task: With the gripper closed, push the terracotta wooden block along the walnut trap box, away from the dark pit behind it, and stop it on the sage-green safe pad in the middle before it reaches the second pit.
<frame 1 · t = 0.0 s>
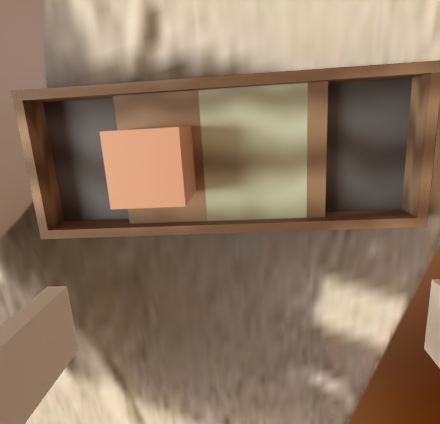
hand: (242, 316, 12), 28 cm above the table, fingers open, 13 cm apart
block: (161, 160, 37), point 2 cm above the table, touching trap box
trap box: (223, 155, 39), on the table
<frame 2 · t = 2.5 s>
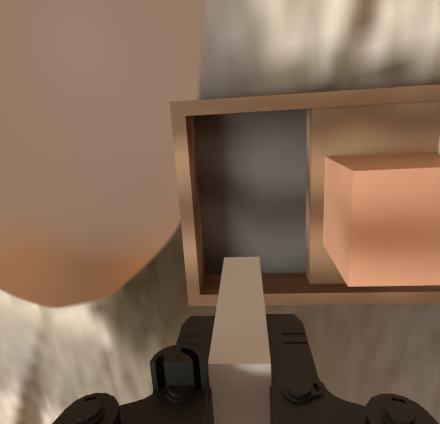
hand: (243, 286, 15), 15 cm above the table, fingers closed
block: (370, 200, 26), point 2 cm above the table, touching trap box
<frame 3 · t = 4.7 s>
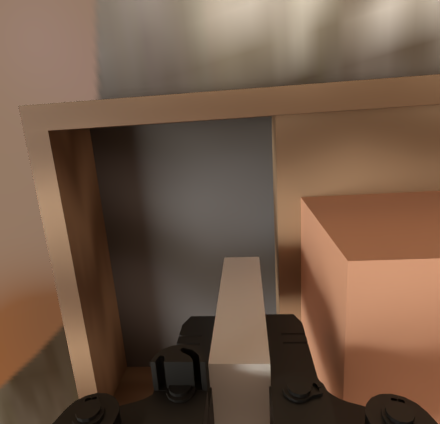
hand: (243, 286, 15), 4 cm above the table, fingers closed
block: (379, 268, 15), point 3 cm above the table, touching gripper, trap box
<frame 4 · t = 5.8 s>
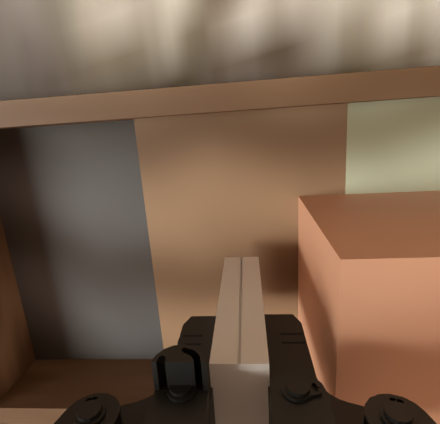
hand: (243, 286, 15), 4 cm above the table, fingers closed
block: (375, 267, 16), point 3 cm above the table, touching gripper, trap box
trap box: (369, 241, 18), on the table
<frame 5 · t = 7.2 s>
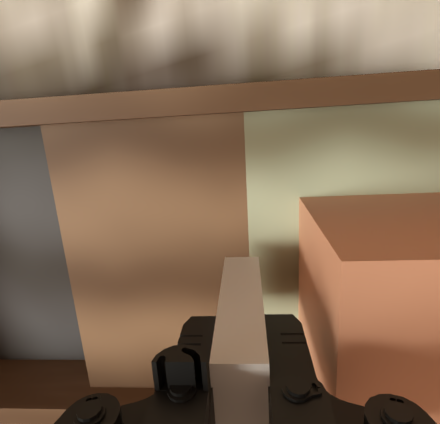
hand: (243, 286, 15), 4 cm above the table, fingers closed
block: (376, 268, 16), point 3 cm above the table, touching gripper, trap box
trap box: (286, 245, 18), on the table
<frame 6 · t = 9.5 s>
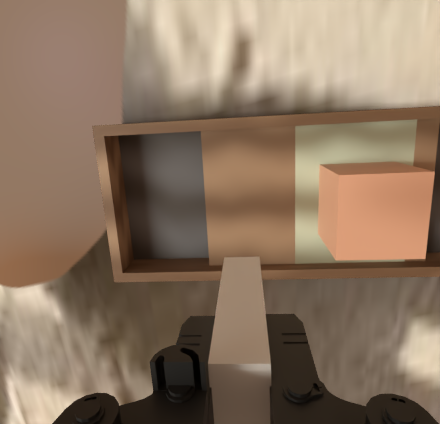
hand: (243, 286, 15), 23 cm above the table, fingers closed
block: (355, 198, 33), point 2 cm above the table, touching trap box
trap box: (310, 192, 36), on the table
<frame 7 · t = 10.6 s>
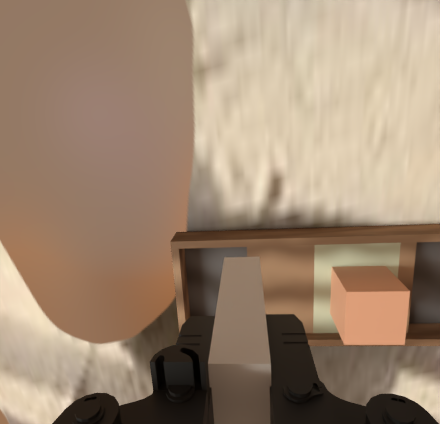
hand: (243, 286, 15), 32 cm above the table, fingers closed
block: (357, 289, 46), point 2 cm above the table, touching trap box
trap box: (324, 280, 49), on the table
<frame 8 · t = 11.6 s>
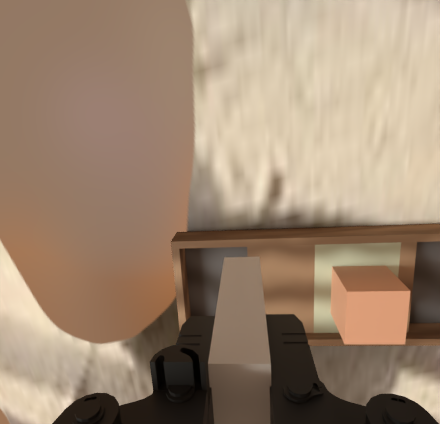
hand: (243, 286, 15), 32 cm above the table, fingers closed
block: (357, 289, 46), point 2 cm above the table, touching trap box
trap box: (325, 280, 49), on the table
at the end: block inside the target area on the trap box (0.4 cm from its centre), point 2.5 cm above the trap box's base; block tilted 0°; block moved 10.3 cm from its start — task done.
